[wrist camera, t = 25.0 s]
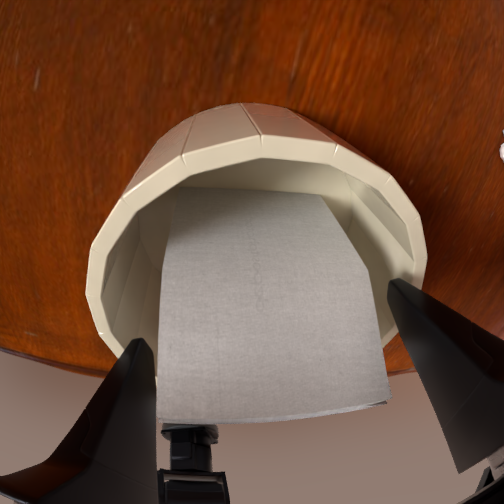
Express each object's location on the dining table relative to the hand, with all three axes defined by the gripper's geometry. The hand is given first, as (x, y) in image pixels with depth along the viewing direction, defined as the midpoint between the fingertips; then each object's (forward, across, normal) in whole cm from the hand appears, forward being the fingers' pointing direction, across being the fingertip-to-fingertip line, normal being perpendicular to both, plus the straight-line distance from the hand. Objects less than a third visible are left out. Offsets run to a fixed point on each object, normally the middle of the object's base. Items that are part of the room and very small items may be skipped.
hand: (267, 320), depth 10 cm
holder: (+7, 0, 0) cm, 7 cm away
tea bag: (+7, 0, 0) cm, 7 cm away
